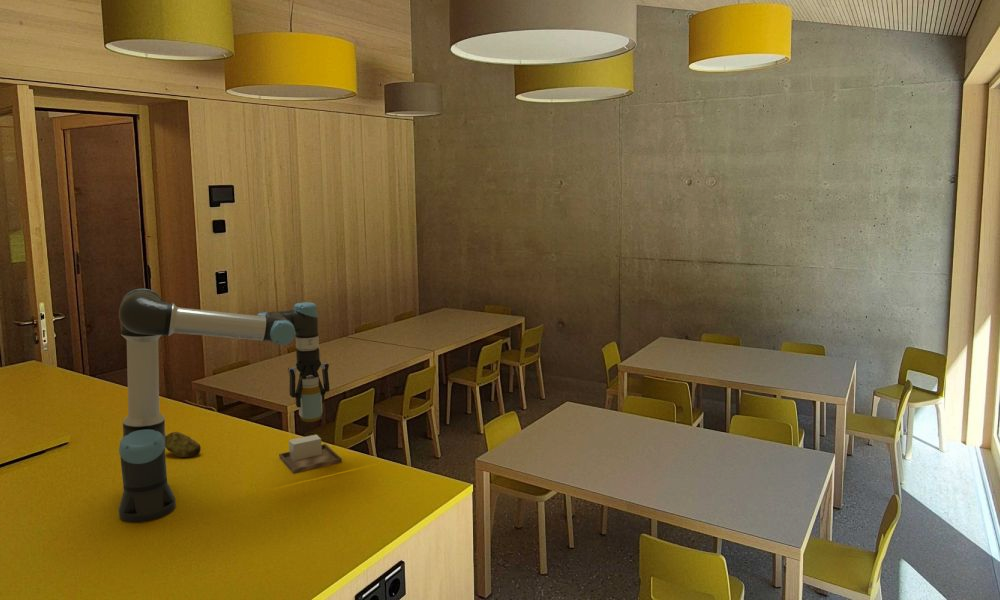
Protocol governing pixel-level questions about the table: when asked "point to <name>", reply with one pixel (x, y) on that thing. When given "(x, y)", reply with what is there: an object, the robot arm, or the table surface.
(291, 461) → the tray
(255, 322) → the robot arm
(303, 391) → the bottle
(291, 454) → the carton
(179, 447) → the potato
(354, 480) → the table surface
